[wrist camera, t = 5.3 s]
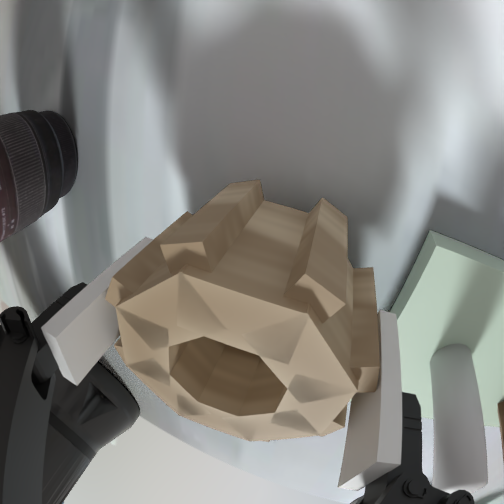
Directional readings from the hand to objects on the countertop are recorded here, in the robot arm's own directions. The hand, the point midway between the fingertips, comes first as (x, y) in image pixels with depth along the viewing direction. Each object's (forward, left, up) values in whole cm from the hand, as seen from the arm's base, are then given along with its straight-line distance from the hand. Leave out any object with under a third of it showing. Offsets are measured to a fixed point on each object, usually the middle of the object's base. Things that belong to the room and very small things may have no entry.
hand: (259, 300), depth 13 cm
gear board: (+17, -2, -4) cm, 18 cm away
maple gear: (0, 0, -2) cm, 2 cm away
